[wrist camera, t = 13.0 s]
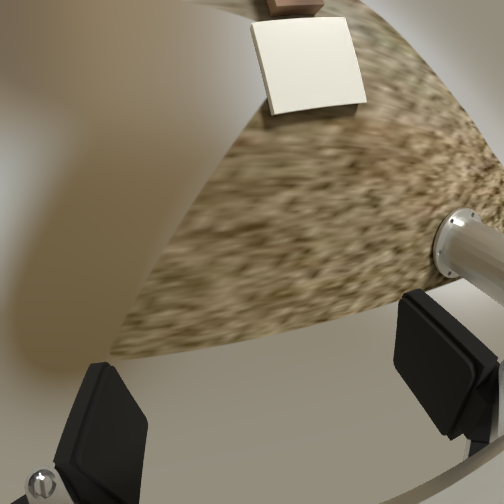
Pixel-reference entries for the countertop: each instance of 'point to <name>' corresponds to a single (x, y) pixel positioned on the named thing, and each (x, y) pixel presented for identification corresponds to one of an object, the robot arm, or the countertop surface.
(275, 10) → the two-tone wooden block
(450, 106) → the countertop surface
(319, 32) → the cutting board
